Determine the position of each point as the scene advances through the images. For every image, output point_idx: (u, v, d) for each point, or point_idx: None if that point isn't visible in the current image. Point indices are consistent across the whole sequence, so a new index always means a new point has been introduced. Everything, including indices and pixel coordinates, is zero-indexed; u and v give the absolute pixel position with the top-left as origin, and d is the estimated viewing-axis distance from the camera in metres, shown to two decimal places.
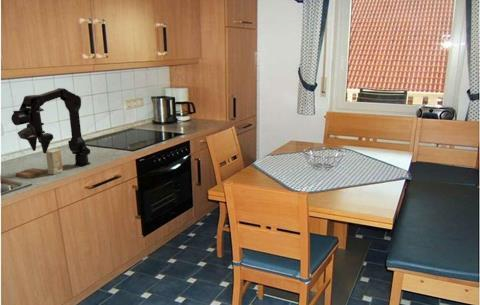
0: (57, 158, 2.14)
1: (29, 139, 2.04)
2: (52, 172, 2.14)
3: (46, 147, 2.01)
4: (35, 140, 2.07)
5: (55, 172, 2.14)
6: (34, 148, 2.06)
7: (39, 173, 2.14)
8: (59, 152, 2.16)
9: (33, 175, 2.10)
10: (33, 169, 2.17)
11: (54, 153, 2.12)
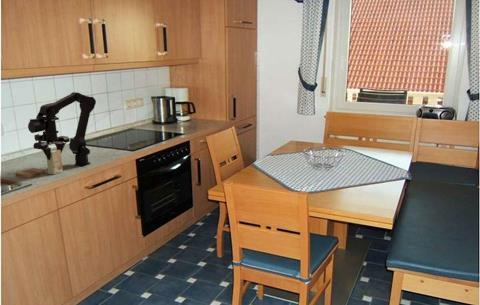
0: (57, 158, 2.14)
1: (56, 145, 2.17)
2: (52, 172, 2.14)
3: (47, 154, 2.10)
4: (60, 147, 2.16)
5: (55, 172, 2.14)
6: None
7: (39, 173, 2.14)
8: (59, 152, 2.15)
9: (33, 175, 2.10)
10: (33, 169, 2.17)
11: (54, 153, 2.12)
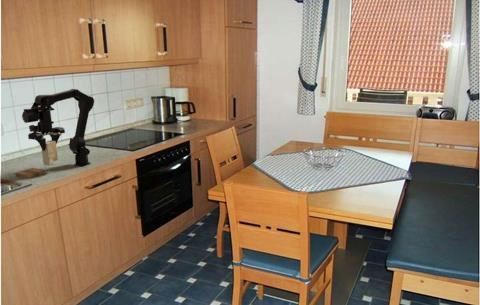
0: (52, 150, 2.13)
1: (51, 136, 2.16)
2: (47, 163, 2.12)
3: (42, 145, 2.08)
4: (55, 138, 2.15)
5: (50, 163, 2.13)
6: None
7: (39, 173, 2.14)
8: (54, 143, 2.14)
9: (33, 175, 2.10)
10: (33, 169, 2.17)
11: (49, 144, 2.11)
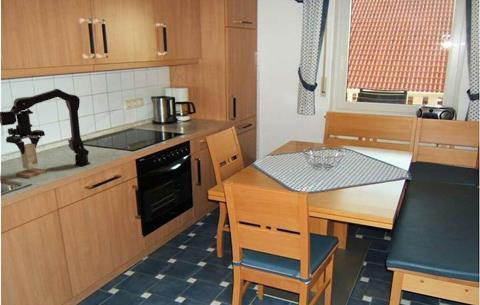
0: (31, 153, 2.11)
1: (30, 139, 2.14)
2: (27, 167, 2.11)
3: (21, 149, 2.07)
4: (34, 141, 2.13)
5: (30, 167, 2.11)
6: None
7: (39, 173, 2.14)
8: (33, 146, 2.12)
9: (33, 175, 2.10)
10: (33, 169, 2.17)
11: (28, 147, 2.09)
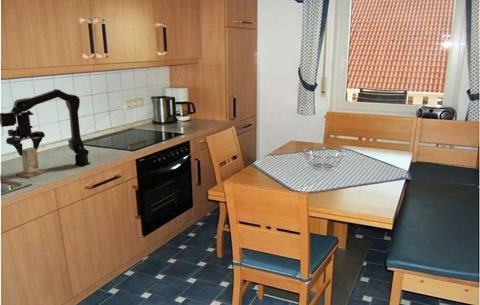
0: (32, 157, 2.12)
1: (32, 140, 2.15)
2: (27, 171, 2.12)
3: (19, 150, 2.06)
4: (36, 142, 2.14)
5: (30, 171, 2.12)
6: None
7: (39, 174, 2.14)
8: (35, 151, 2.13)
9: (33, 176, 2.10)
10: None
11: (29, 152, 2.10)
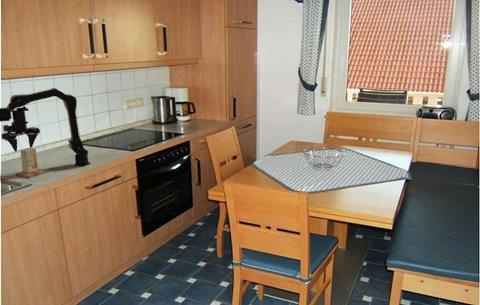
0: (31, 157, 2.12)
1: (28, 135, 2.16)
2: (26, 171, 2.12)
3: (14, 146, 2.06)
4: (32, 138, 2.15)
5: (29, 171, 2.12)
6: (30, 145, 2.16)
7: (39, 173, 2.14)
8: (34, 151, 2.13)
9: (33, 175, 2.10)
10: None
11: (29, 152, 2.10)
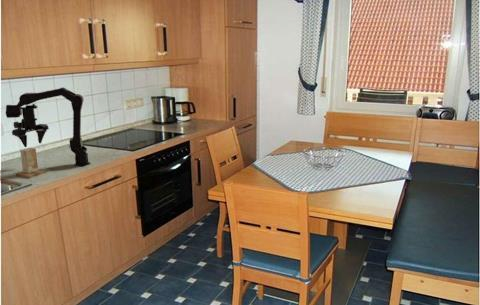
0: (31, 157, 2.12)
1: (37, 132, 2.26)
2: (26, 171, 2.12)
3: (24, 142, 2.16)
4: (41, 134, 2.25)
5: (30, 171, 2.12)
6: (39, 141, 2.26)
7: (39, 173, 2.14)
8: (34, 151, 2.13)
9: (33, 175, 2.10)
10: None
11: (28, 152, 2.10)
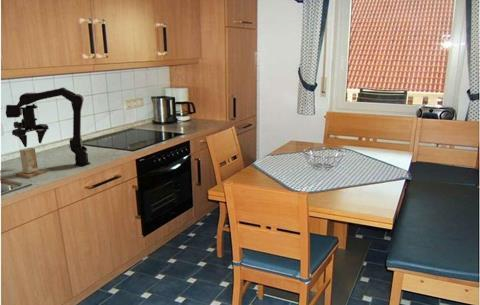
0: (31, 157, 2.12)
1: (37, 132, 2.26)
2: (26, 171, 2.12)
3: (24, 142, 2.16)
4: (41, 134, 2.25)
5: (29, 171, 2.12)
6: (39, 141, 2.26)
7: (39, 173, 2.14)
8: (33, 150, 2.13)
9: (33, 175, 2.10)
10: None
11: (28, 151, 2.10)
